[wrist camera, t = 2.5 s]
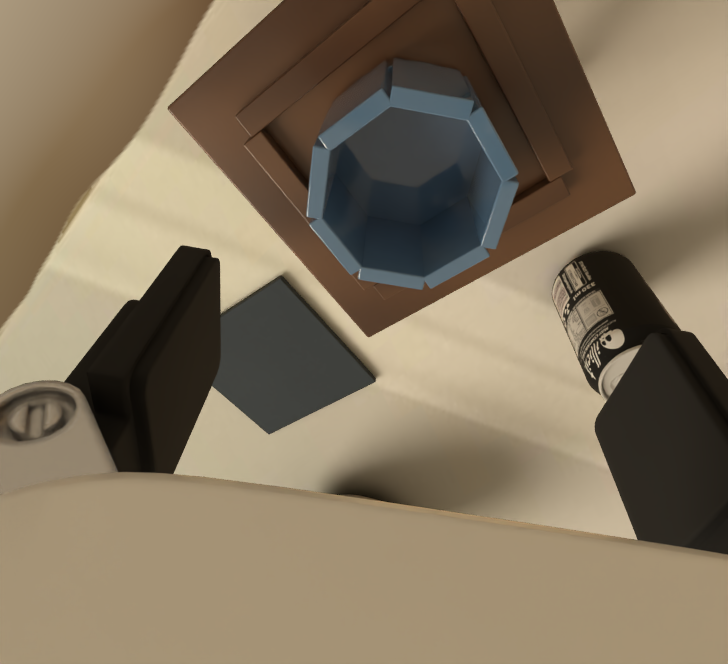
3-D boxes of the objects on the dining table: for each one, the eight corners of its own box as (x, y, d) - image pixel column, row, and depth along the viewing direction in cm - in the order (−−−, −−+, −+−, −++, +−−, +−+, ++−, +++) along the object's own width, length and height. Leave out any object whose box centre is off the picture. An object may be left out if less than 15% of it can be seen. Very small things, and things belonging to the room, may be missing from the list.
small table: (254, 45, 34) (160, 112, 20) (441, -124, 28) (479, -183, 15) (377, 212, 40) (367, 345, 27) (549, 101, 35) (642, 199, 21)
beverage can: (639, 299, 43) (707, 400, 34) (559, 324, 45) (603, 426, 36) (626, 234, 40) (697, 325, 30) (540, 264, 42) (583, 359, 32)
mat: (171, 345, 49) (169, 349, 49) (281, 274, 44) (280, 278, 43) (269, 430, 56) (268, 434, 55) (376, 377, 50) (375, 382, 50)
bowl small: (291, 131, 21) (266, 175, 17) (435, 18, 18) (445, 39, 14) (385, 254, 24) (383, 315, 20) (520, 172, 22) (548, 224, 18)
